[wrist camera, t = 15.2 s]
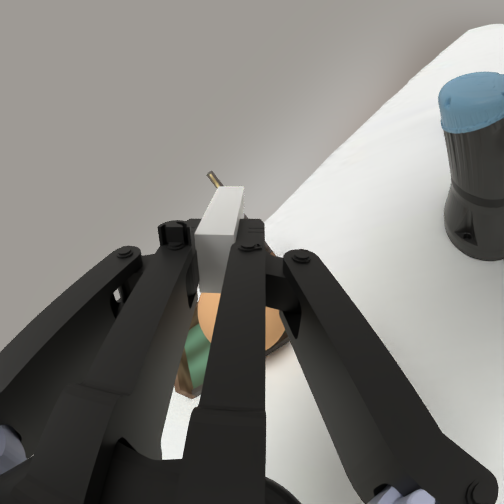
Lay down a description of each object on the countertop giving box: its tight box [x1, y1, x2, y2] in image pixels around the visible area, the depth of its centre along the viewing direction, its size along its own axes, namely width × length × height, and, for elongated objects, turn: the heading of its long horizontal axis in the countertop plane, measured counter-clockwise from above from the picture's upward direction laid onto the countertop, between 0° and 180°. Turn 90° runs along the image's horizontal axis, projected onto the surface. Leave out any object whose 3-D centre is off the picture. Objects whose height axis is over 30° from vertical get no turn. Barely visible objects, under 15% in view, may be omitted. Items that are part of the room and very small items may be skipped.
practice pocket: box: [174, 171, 289, 399], centre depth 41 cm, size 16×25×22 cm, turn 112°
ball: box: [198, 293, 285, 350], centre depth 40 cm, size 13×13×13 cm
